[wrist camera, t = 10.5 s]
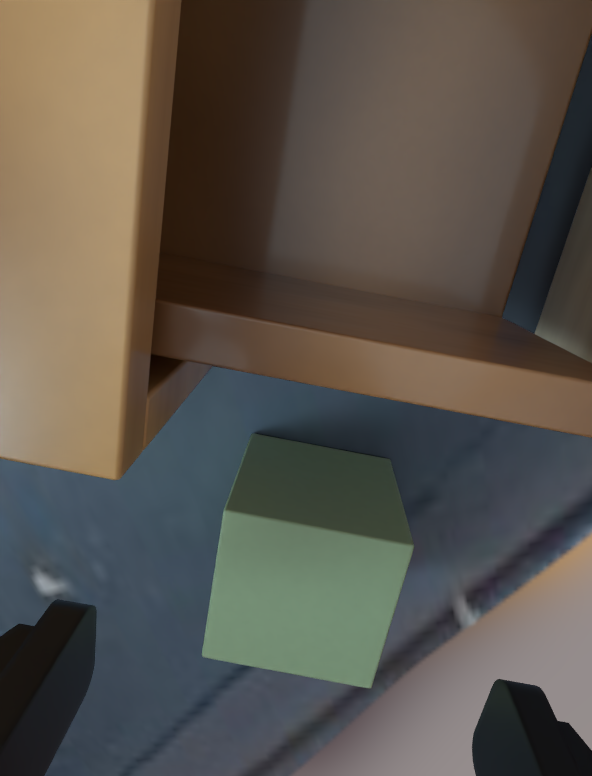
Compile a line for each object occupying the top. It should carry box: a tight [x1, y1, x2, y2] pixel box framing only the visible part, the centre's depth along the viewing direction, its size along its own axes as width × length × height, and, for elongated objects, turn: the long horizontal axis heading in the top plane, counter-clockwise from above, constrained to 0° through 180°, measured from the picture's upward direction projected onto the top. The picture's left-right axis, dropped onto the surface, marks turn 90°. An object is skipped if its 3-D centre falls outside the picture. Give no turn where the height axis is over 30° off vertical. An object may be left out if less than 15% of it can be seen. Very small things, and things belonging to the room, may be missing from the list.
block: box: [202, 434, 414, 688], centre depth 14 cm, size 5×5×5 cm
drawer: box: [151, 0, 592, 438], centre depth 8 cm, size 20×12×7 cm, turn 80°
